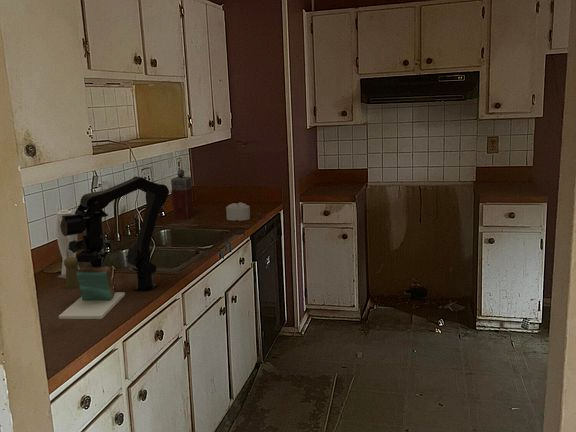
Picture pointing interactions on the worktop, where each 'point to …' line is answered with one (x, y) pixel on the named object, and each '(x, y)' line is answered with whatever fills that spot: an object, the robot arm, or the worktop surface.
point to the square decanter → (182, 196)
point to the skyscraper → (64, 240)
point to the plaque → (95, 283)
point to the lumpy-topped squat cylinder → (238, 211)
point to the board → (91, 308)
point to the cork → (71, 272)
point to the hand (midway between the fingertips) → (98, 274)
